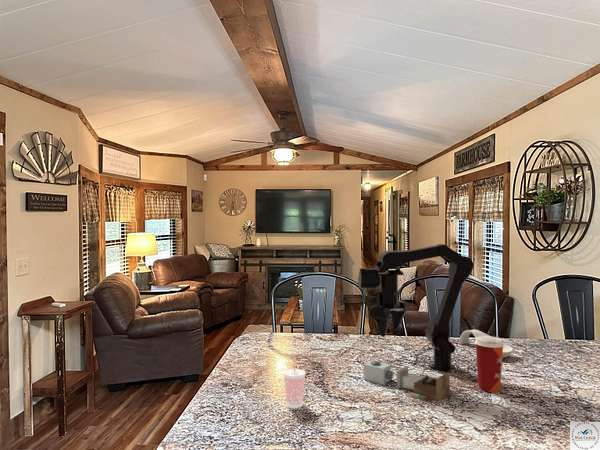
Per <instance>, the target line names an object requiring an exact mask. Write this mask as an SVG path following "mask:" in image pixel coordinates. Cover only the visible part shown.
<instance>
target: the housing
mask: <svg viewBox="0 0 600 450" xmlns="http://www.w3.org/2000/svg"><path fill="white" fill-rule="evenodd" d="M423 376H424V377H425V376H426V375H423ZM450 377H451V375H450V373H448V372H445V373H444V374H442V375H440V377H438V378H435V377H431V376H429V378H433V386H432V385H427V384H420V383H419V382H415V383H414V390H413V392H408V393H407V397H409V398H413V399H416V400H422V401H426V402H430V401H431V400H432V399H433V400H437V401H442V400H443V399H444V398H446V396H447V395H448V394H450V387H451V386H450V385H451V384H450V383H451V382H450Z"/></svg>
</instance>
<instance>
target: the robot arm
mask: <svg viewBox="0 0 600 450" xmlns="http://www.w3.org/2000/svg"><path fill="white" fill-rule="evenodd" d="M438 257H440V258H441V259H442V260H443V261H445V262H446V263H448V264H449V265H448V280H447V284H446V287H445V290H444V292H443V296H442V299H441V301H440V304H439V307H438V310H437V314H436V316H435V318H434V319H433V320H430V319H429V320H428V321H427V325H426V327H425V329H424V332H425V338H426V340H427V341H428V342H429V343H430V344H431V346H432V347H433V363H432V364H430V367H429V368H431V369H436V370H440V371H445V372H450V371H451V370H452V369H454V368H455V367H456V365H455V364H452V354H455V350H456V346H455V345H454V344H453V343H452V342H451V340H450V333H451V331H450V330H451V329H450V322H451V318H452V315H453V313H454V311H455V307H456V304H457V301H458V298H459V295H460V293H461V289H462V285H463V283H465V281H466V280H467V279H468V278H469V277H470V275H471V273H472V271H473V270H474V266H475V264H474V262H473V260H472V258H471V257H469V256H464V255H462V254H460V253H458V252H457V251H456V250H454V249H452V248H450V247H449V246H448V245H447V244H443V243H439V244H435V245H429V246H424V247H419V248H414V249H408V250H385V251H382V252H381V253H380V255H379V258H378V261H377V262H376V264H375V265H374V266H373V268H363V267H362V268H359V273H358V277H357V283H358V284H357V285H358V289H360V290H361V289H367V290H368V289H377V288H378V287H379V286H380V290H378V291H377V295H375V296H372V294H368V295H365V296H364V297H363V304H364V305H365V306H366V308H368V316H369V317H370V318H371V319H373V320H374V321H375V322H376V324H377V327H378V330H379V334H380V336H381V337H382V338H384V337H386V335H387V331H388V328H389V325H390V320H391V321H392V329H393V331H394V332H398V329H400V328H399V327H400V325H401V323H402V321H403V319H404V317H405V315H406V313H407V311H408V310H409V303H408V301H406V300H399V295H400V294H401V291H400V290H399V288H398V287H399V284H398V281H399V279H398V276H405V273H404V272H403V271H402V270H401V269H400V268H399V267H403V266H404V265H406V264H409V263H411V262H417V261H423V260H427V259H433V258H434V259H435V258H438ZM390 316H391V317H390Z"/></svg>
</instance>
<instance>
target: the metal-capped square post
mask: <svg viewBox="0 0 600 450" xmlns="http://www.w3.org/2000/svg"><path fill="white" fill-rule="evenodd" d="M424 376H425V377H424ZM429 377H430V376H429V375H419V374H414V373H410V372H409V367H407V366H404V367H403V368H401V369H399V370H398V371H396V389H401V388H403V389H406V390H411V391H414V383H415V382H419V383H420V384H427V385H432V386H433V378H434V377H431V378H429Z"/></svg>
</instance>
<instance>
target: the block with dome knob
mask: <svg viewBox="0 0 600 450" xmlns="http://www.w3.org/2000/svg"><path fill="white" fill-rule="evenodd" d="M393 379H394V372H393V371H392V364H390V363H385V362H382V361H378V360H372V359H370V360H369V361H367V362H364V364H363V380H365V381H368V382H372V383H375V384H381V385H385V384H386V383H388V382H390V381H391V380H393Z"/></svg>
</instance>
